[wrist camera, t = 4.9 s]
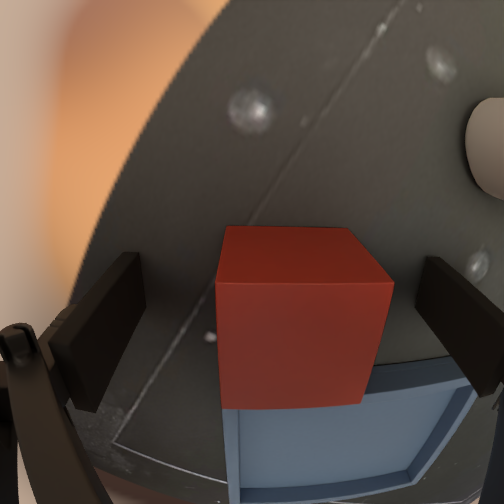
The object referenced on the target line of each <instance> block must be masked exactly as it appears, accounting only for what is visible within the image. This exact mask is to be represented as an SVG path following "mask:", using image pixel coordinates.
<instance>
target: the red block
mask: <svg viewBox="0 0 504 504" xmlns="http://www.w3.org/2000/svg"><path fill="white" fill-rule="evenodd" d="M394 285H395V283H394V281H393V280H392V279H391V277H390V276H389V275H388V274H387V273H386V272H385V270H384V269H383V268H382V267H381V266H380V265H379V263H378V262H377V261H376V260H375V259H374V258H373V256H372V255H371V254H370V253H369V252H368V251H367V250H366V248H365V247H364V246H363V245H362V244H361V243H360V242H359V241H358V239H357V238H356V237H355V236H354V235H353V234H352V233H351V232H350V231H349V229H347V228H322V227H279V226H226V231H225V235H224V240H223V245H222V250H221V255H220V260H219V265H218V270H217V275H216V280H215V300H216V324H217V345H218V363H219V380H220V396H221V408H222V409H238V410H271V409H301V408H318V407H331V406H343V405H353V404H360V403H361V401H362V398H363V395H364V392H365V390H366V387H367V384H368V380H369V377H370V374H371V371H372V368H373V365H374V361H375V358H376V355H377V351H378V348H379V344H380V341H381V337H382V334H383V330H384V326H385V322H386V318H387V314H388V310H389V306H390V302H391V298H392V293H393V289H394Z"/></svg>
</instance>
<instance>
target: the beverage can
mask: <svg viewBox="0 0 504 504" xmlns="http://www.w3.org/2000/svg"><path fill="white" fill-rule="evenodd" d="M465 147H466V153H467V158H468V162H469V165H470V169H471V172H472V174H473V176H474V178H475V180H476V183H477V184H478V185H479V186H480V187H481V189H482V190H483V191H484V192H486V193H488V194H490V195H491V196H493V197H496V198H498V199H501V200H503V201H504V98H488V99H486V100H484V101H482V102H480V103H479V105H478V106H477V107H476V108H475V109H474V110H473V112H472V115H471V117H470V119H469V121H468V124H467V129H466V133H465Z"/></svg>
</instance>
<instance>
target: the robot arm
mask: <svg viewBox="0 0 504 504" xmlns="http://www.w3.org/2000/svg"><path fill="white" fill-rule="evenodd" d="M145 309H146V303H145V297H144V290H143V283H142V275H141V268H140V259H139V253H128V252H123V253H122V254H121V255H120V256H119V257H118V258H117V259H116V260H115V262H114V263H113V264H112V265H111V266H110V267H109V268H108V269H107V271H106V272H105V273H104V274H103V275H102V276H101V277H100V279H99V280H98V281H97V282H96V283H95V284H94V286H93V287H92V288H91V289H90V290H89V291H88V293H87V294H86V295H85V296H84V297H83V299H82V300H81V301H80V302H79V303H78V304H71V305H70V306H68V307H67V308H65V309H63V310H62V311H61V312H60V313H59V314H58V316H57V317H56V318H55V320H53V322H52V323H51V324H50V327H48V328H47V329H46V330H45V331H44V332H43V334H42V335H41V336H40V337H39V339H38V340H37V339H36V336H35V333H34V330H33V328H32V327H31V325H28V324H26V323H16V324H12V325H10V326H7V327H5V328H4V329H2V330H1V331H0V354H1V356H2V358H3V360H4V361H0V504H19V496H18V474H17V444H18V442H19V447H20V451H21V454H22V458H23V462H24V465H25V469H26V472H27V475H28V479H29V482H30V485H31V488H32V491H33V494H34V496H35V499H36V502H37V504H113V502H112V500H111V499H110V497H109V495H108V493H107V492H106V490H105V488H104V486H103V485H102V483H101V481H100V479H99V477H98V475H97V473H96V471H95V469H94V467H93V465H92V463H91V461H90V459H89V457H88V455H87V453H86V451H85V449H84V447H83V444H82V442H81V440H80V438H79V436H78V433H77V431H76V429H75V426H74V424H73V421H72V419H71V417H70V414H69V412H68V410H67V408H66V406H65V405H66V403H67V401H68V399H69V398H71V400H72V402H73V404H74V406H75V409H78V410H83V411H88V412H93V413H96V411H97V409H98V407H99V405H100V402H101V400H102V398H103V396H104V393H105V391H106V389H107V387H108V385H109V382H110V380H111V378H112V376H113V374H114V372H115V370H116V367H117V365H118V363H119V361H120V359H121V357H122V355H123V353H124V351H125V349H126V347H127V345H128V343H129V341H130V339H131V336H132V334H133V332H134V330H135V328H136V326H137V324H138V322H139V320H140V319H141V317H142V315H143V313H144V311H145ZM415 309H416V310H417V311H418V313H419V314H420V315H421V316H422V318H423V319H424V320H425V322H426V323H427V324H428V326H429V327H430V328H431V330H432V331H433V332H434V334H435V335H436V336H437V338H438V339H439V340H440V342H441V343H442V344H443V346H444V347H445V348H446V350H447V351H448V352H449V354H450V355H451V357H452V358H453V359H454V361H455V362H456V364H457V365H458V366H459V368H460V369H461V371H462V372H463V374H464V375H465V377H466V378H467V379H468V381H469V382H470V384H471V385H472V387H473V388H474V390H475V391H476V393H477V394H478V396H479V397H480V398H481V397H484V396H487V395H491V394H494V392H495V390H496V388H497V387H498V385H499V383H500V381H501V382H502V383H503V385H504V313H503V312H502V311H501V310H500V309H499V308H498V307H496V306H495V305H494V304H493V303H492V302H491V301H490V300H489V299H488V298H487V297H486V296H484V295H483V294H482V293H481V292H480V291H479V290H478V289H477V288H475V287H474V286H473V285H472V284H471V283H470V282H469V281H467V280H466V279H465V278H464V277H463V276H462V275H461V274H459V273H458V272H457V271H456V270H455V269H453V268H452V267H451V266H450V265H449V264H447V263H446V262H445V261H444V260H443V259H441V258H440V257H427V259H426V263H425V268H424V272H423V276H422V281H421V285H420V289H419V293H418V296H417V300H416V304H415ZM497 405H499V408H498V410H497V411H498V418H497V425H496V431H495V437H494V442H493V447H492V452H491V457H490V462H489V466H488V470H487V474H486V478H485V482H484V486H483V489H482V493H481V496H480V500H479V503H478V504H504V388H503V390H502V392H501V393H500V395H499V397H498V399H497V400H496V402H495V403H494V405H493V407H492V409H493V410H494V409H495V407H496V406H497Z"/></svg>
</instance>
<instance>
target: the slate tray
mask: <svg viewBox="0 0 504 504" xmlns="http://www.w3.org/2000/svg"><path fill="white" fill-rule="evenodd" d="M477 395H478V394H477V393H476V391H475V390H474V388H473V387H472V385H471V384H470V382H469V381H468V379H467V378H466V377H465V375H464V374H463V372H462V371H461V369H460V368H459V366H458V365H457V364H456V362H455V361H454V359H453V358H452V357H451V356H449V357H443V358H436V359H430V360H423V361H416V362H408V363H400V364H392V365H383V366H373V368H372V371H371V374H370V377H369V380H368V384H367V387H366V390H365V392H364V395H363V398H362V401H361V403H360V404H353V405H343V406H331V407H318V408H301V409H271V410H238V409H222V422H223V435H224V448H225V460H226V471H227V482H228V493H229V503H230V504H313V503H322V502H330V501H337V500H344V499H350V498H356V497H362V496H367V495H372V494H377V493H382V492H386V491H391V490H395V489H399V488H403V487H407V486H411V485H414V484H416V483H417V482H418V481H419V480H420V478H421V477H422V476H423V475H424V473H425V472H426V471H427V470H428V468H429V467H430V466H431V465H432V463H433V462H434V461H435V459H436V458H437V457H438V455H439V454H440V453H441V451H442V450H443V448H444V447H445V446H446V444H447V443H448V441H449V440H450V438H451V437H452V435H453V434H454V433H455V431H456V429H457V428H458V426H459V425H460V423H461V422H462V420H463V419H464V417H465V415H466V414H467V412H468V411H469V409H470V407H471V406H472V404H473V402H474V400H475V399H476V397H477Z"/></svg>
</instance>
